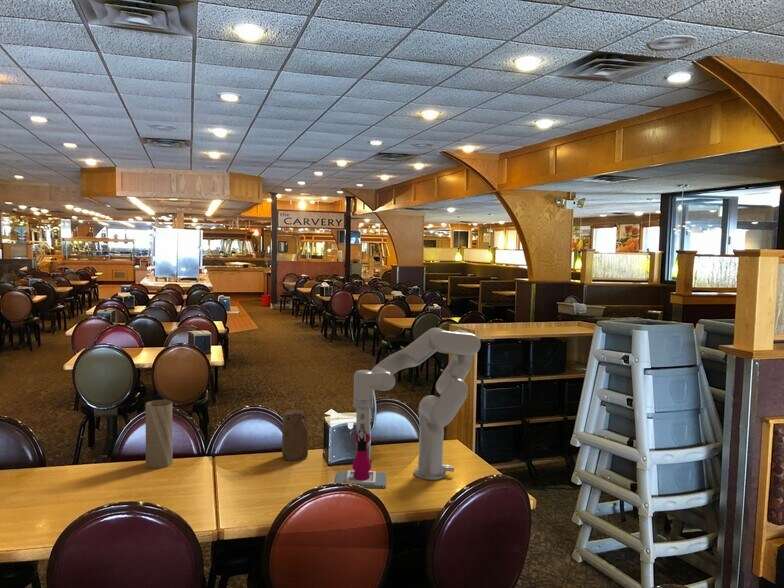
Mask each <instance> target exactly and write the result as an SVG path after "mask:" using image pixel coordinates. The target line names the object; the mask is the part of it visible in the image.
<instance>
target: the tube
mask: <svg viewBox="0 0 784 588" xmlns="http://www.w3.org/2000/svg"><path fill="white" fill-rule="evenodd" d="M172 464H173V401H172V400H168V399H154V400H151V401H146V402H145V467H146V468H149V469H157V470H158V469H163V468H167V467H170V466H172Z"/></svg>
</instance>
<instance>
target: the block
mask: <svg viewBox="0 0 784 588" xmlns="http://www.w3.org/2000/svg"><path fill="white" fill-rule="evenodd" d="M282 417H283V418H282V430H281V431H282V432H281V433H282V434H281V435H282V437H281V452H282V458H283V459H284V460H286V461H291V462H292V461H293V460H294V461H298V460H300V459H301V460H305V459H306V458H307V457H308V455H309V439H310V438H309V429H308V426H307V423H308V422H307V417H306V414H305V412H304V411H303V410H300V409H297V410H294V409H293V410H286V411H284V413H283V416H282ZM301 460H300V461H301Z"/></svg>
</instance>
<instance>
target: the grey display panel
mask: <svg viewBox="0 0 784 588" xmlns="http://www.w3.org/2000/svg"><path fill="white" fill-rule="evenodd" d="M354 472H355V471H354V470H346V471H345V470H342V471H341V470H340V471H339V470H338V471H337V475H336V479H335V482H334V484H335V483H352V484H356V485H360V486H363V487H367V488H366V489H368V488H369V489H374V488H375V489H382V488H381V487H384V488H383V489H387V488H386V487H387V482H386V481H387V472H385V471H384V472H382V471H381V472H380V471H379V472H377V471H376V470H369V472H370V478H369V479H366V480H357V479H355V478H354ZM363 487H362V488H363Z"/></svg>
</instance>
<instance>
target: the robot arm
mask: <svg viewBox="0 0 784 588" xmlns="http://www.w3.org/2000/svg"><path fill="white" fill-rule="evenodd" d="M481 345H482V344H481V339H480V338H479V337H478V336H477V335H476V334H474V333H472V332H469V331H466V330H465V329H464V330H463V329H456V330H454V331H449V330H446V329H443V328H441V327H431V328H429V329H428V330H427V331H425V332H424V333H423V334H421V335H420V336H419V337H417V338H416V339H415V340H414V341H412V342H411V343H409V344H408V345H407V346H406V347H404V348H402V349H400V350H398V351H396V352H394V353H391V354H390V355H388V356H387V357H385V358H384V359H383V360H381V361H380V362H378V363H377V364H375V366H374V367H373V368H372V369H371V370H369V369H359V370H356V371H355V372H354V375H353V402H352V403H353V404H352V405H353V406H352V407H353V408H355V409H356V410H355V411H356V415H355V416H356V419H355V421H356V433H357V434H359V435H358V451H366V434H368V435H369V434H370V435H371V415H372V413H371V409H373V408H374V391H382V392H383V391H384V392H386V391H390V390H392V389H393V388H394V387H395V385H396V378H395V375H394V374H396V373H397V372H400V371H401V370H403V369H407V368H414V367H417V366H420V365H421V364H422V363H424V362H425V361H426V360H427V359H428V358H430V357H431V356H433V355H434V354H435V353H436V352H439V353H442V354H448V355H451V359H450V361H449V362H448V364H447V366H446V367H445V368H444V370H443V372H442V373H441V374H440V376H439V377H438V380H437V381H436V383H435V389H436V392H437V393H438V394H439V395H440V396H439V397H438V396H437V395H432V394H431V395H426V396H424V397H422V399H421V400H420V401H419V404H418V420H419V436H418V438H419V439H418V440H419V441H418V461H417V462H418V464H417V465H418V467H415V469H414V472H413V473H414V475H415V477H417V478H419V479H421V480H426V481H427V480H428V481H437V480H441V479H444V478H445V477H446V474H447V472H450V473H453V472H455V467H454V466H451V464H444V461H443V455H444V454H443V453H444V452H443V451H444V430H445V429H444V427H446V426H448V425H449V424H450V423H451V422H452V421H453V420H454V418H455V416H456V415H457V414H458V412H459V410H460V409H461V408H462V406H463V404H464V403H465V401H466V399H467V397H468V392H469V388H468V385H467V383H466V382H465V379H466V377H467V375H468V373H469V372H470V371H471V368H472V365H473V359H474V358H473V355H476V354H477V353H478V352H479V351H480V349H481ZM364 432H365V433H364Z"/></svg>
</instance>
